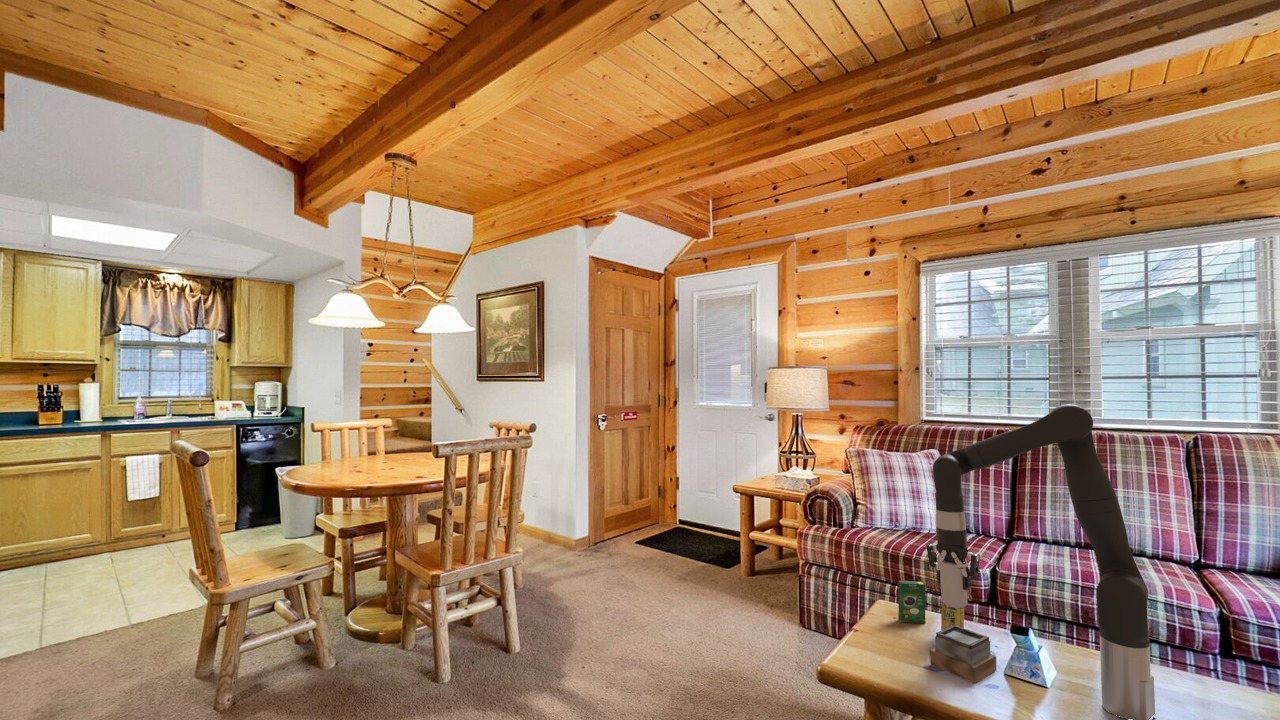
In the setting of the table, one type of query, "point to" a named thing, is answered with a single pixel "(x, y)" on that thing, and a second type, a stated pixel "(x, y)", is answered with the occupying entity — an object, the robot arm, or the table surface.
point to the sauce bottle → (951, 616)
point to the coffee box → (911, 602)
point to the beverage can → (952, 585)
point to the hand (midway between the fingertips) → (954, 586)
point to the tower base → (963, 666)
